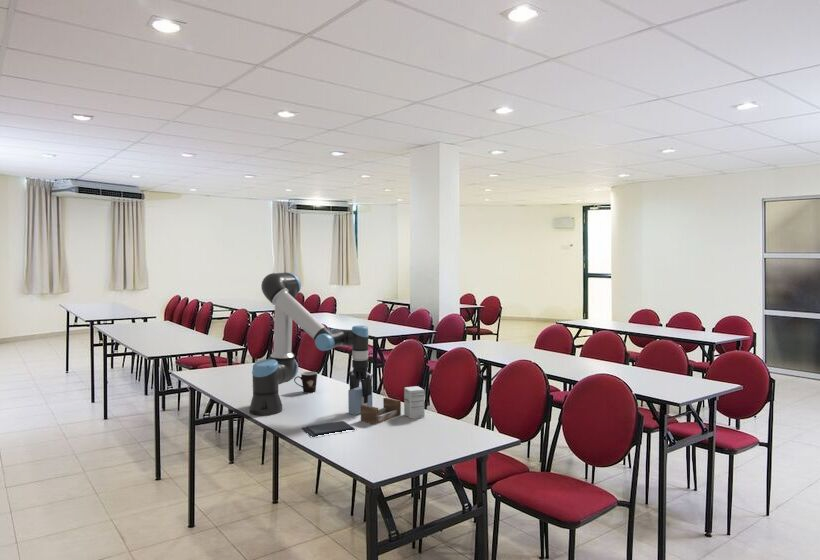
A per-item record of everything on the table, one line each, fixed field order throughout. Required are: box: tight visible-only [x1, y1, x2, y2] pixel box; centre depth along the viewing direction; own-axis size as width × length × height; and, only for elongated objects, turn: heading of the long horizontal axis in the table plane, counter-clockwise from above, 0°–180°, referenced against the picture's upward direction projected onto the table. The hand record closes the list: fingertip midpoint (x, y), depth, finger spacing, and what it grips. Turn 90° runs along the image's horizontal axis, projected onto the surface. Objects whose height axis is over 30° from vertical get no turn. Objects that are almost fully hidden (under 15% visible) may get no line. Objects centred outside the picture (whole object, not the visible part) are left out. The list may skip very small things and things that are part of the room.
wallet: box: [301, 420, 356, 437], centre depth 234 cm, size 20×2×15 cm
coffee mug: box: [293, 371, 318, 394], centre depth 299 cm, size 12×9×10 cm
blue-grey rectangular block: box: [347, 385, 373, 416], centre depth 260 cm, size 12×4×11 cm, turn 142°
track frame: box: [360, 397, 402, 425], centre depth 250 cm, size 17×9×7 cm, turn 142°
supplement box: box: [403, 385, 425, 420], centre depth 253 cm, size 7×7×13 cm
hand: (360, 408), depth 260 cm, fingers closed on blue-grey rectangular block, 4 cm apart
